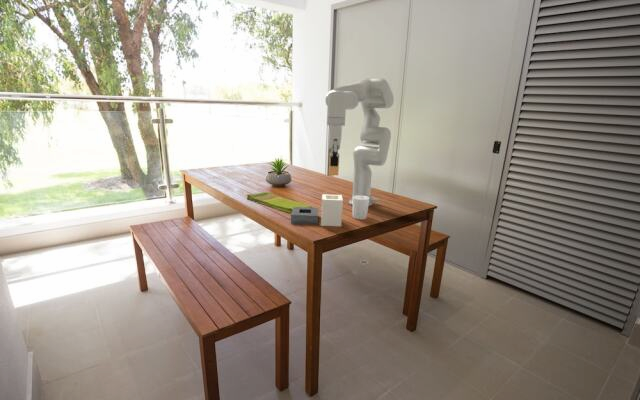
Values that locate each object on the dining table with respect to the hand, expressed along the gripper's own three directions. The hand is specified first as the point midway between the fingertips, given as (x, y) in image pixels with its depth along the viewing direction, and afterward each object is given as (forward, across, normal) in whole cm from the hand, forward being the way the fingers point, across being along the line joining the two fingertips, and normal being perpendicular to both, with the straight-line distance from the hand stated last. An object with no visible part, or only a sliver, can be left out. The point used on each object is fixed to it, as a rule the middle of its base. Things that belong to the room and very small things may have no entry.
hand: (333, 164), depth 142 cm
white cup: (+27, -9, +14) cm, 32 cm away
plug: (+4, 0, 0) cm, 4 cm away
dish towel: (+28, -27, -28) cm, 47 cm away
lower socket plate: (+27, -3, -12) cm, 29 cm away
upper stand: (+27, 0, 0) cm, 27 cm away
